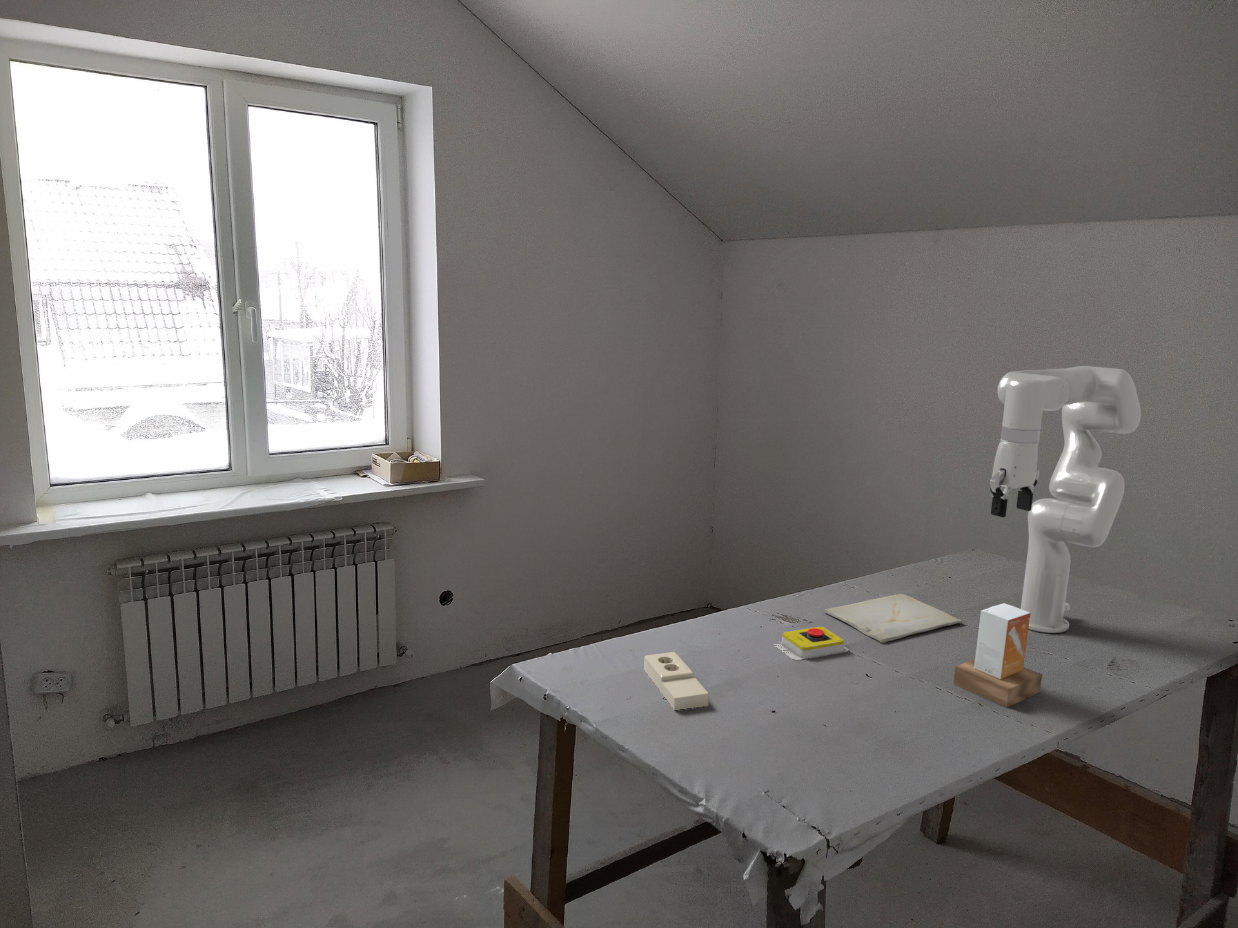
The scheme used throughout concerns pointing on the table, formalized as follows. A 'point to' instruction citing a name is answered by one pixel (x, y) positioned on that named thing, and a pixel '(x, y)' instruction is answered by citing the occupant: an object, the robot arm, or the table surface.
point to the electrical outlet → (675, 681)
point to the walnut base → (998, 684)
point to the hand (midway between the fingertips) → (1011, 512)
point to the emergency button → (811, 643)
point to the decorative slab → (892, 617)
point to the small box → (1002, 640)
